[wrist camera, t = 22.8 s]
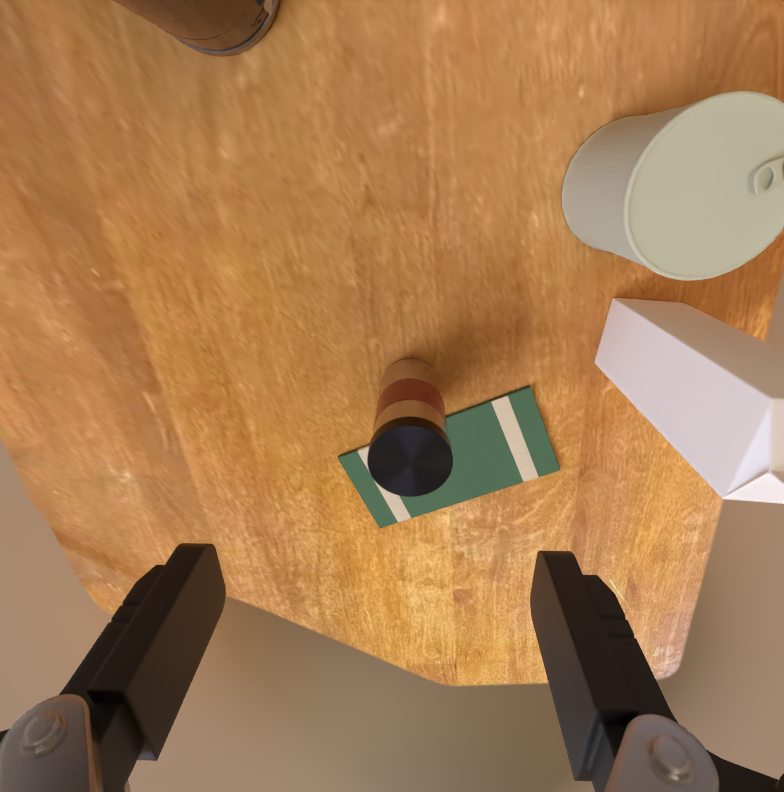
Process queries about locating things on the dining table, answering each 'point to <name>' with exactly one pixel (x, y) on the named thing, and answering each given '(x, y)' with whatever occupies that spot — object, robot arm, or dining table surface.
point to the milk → (702, 392)
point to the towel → (469, 458)
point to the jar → (410, 431)
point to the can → (683, 185)
